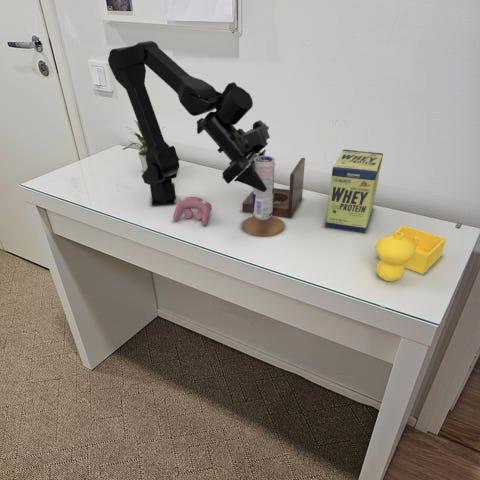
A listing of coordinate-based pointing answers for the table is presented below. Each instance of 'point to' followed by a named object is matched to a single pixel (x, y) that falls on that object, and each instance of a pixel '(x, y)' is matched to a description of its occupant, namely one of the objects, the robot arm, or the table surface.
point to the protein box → (353, 190)
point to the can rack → (278, 207)
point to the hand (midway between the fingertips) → (268, 186)
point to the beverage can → (265, 199)
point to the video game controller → (195, 203)
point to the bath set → (407, 252)
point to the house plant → (142, 153)
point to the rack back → (296, 186)
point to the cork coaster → (263, 226)
